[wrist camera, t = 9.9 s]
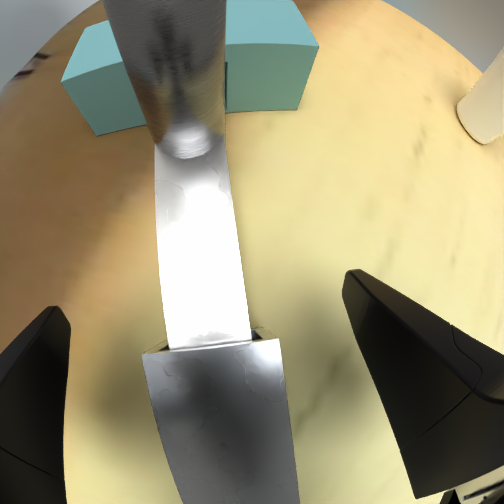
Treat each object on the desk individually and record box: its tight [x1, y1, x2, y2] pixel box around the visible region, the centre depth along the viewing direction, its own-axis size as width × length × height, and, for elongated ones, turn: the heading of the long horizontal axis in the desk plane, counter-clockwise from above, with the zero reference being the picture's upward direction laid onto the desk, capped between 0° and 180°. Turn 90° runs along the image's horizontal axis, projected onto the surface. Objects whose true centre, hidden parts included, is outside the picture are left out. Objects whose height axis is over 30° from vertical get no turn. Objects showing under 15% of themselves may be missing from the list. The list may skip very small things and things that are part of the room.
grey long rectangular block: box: [141, 327, 300, 504], centre depth 10 cm, size 14×5×5 cm, turn 8°
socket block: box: [61, 0, 319, 136], centre depth 14 cm, size 6×14×6 cm, turn 98°
